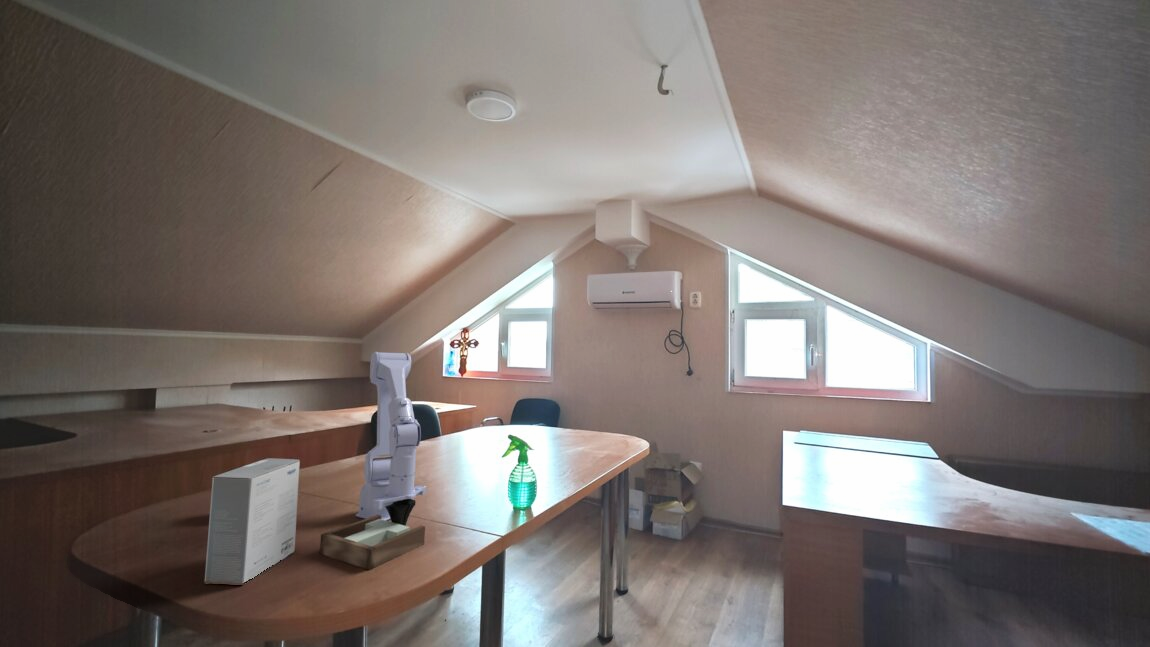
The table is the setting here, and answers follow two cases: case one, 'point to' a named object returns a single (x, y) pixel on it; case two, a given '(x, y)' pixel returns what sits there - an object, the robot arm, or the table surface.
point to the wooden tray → (365, 554)
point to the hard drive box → (251, 519)
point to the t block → (378, 532)
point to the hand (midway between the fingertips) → (398, 532)
